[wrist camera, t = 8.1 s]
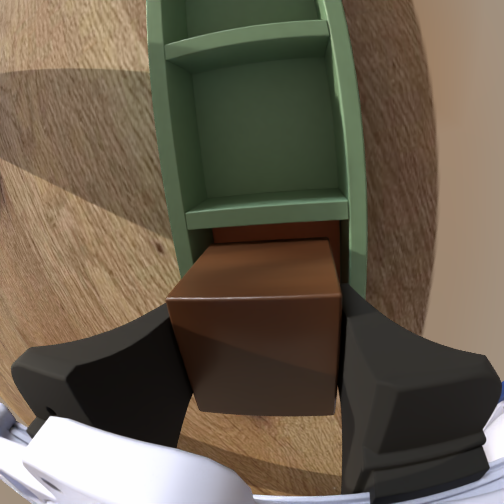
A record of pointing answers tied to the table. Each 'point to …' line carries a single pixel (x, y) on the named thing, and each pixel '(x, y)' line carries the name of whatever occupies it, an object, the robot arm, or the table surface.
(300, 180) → the rack
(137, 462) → the robot arm
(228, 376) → the block
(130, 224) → the table surface
